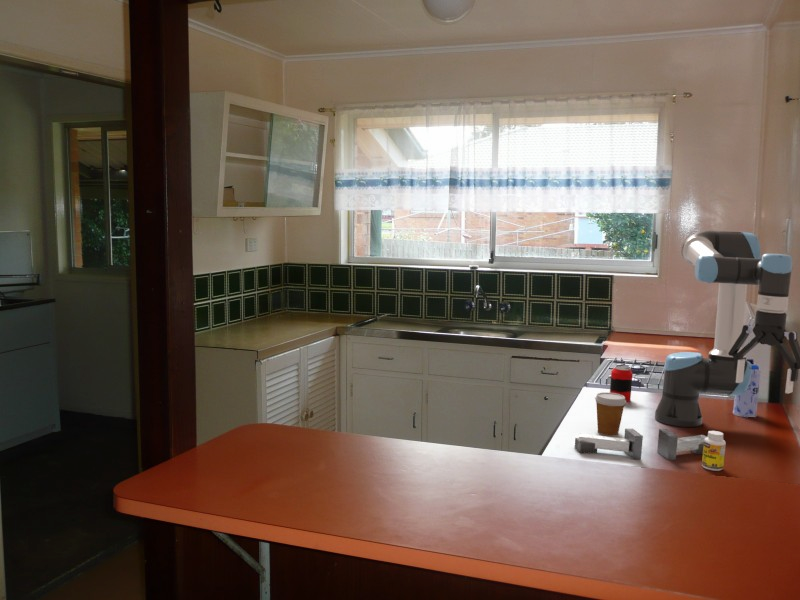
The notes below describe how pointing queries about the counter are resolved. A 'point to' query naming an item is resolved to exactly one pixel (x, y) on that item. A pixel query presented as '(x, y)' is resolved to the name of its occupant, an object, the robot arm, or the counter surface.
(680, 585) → the counter surface
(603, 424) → the disposable coffee cup
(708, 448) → the supplement bottle
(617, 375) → the soda can
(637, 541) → the counter surface
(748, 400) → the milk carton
